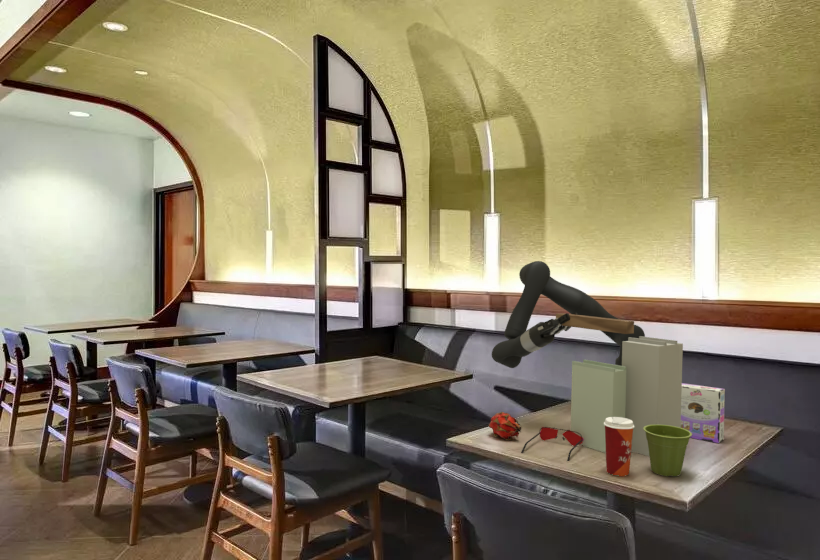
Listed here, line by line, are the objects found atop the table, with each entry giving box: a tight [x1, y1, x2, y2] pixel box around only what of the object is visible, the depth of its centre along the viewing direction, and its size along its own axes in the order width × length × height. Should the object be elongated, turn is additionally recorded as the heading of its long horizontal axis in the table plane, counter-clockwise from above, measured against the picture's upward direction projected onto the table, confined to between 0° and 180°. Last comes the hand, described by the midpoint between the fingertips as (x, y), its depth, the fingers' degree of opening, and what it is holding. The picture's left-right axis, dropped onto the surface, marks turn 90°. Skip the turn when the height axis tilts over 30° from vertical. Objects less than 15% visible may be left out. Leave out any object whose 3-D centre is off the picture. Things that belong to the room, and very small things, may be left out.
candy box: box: [681, 382, 726, 444], centre depth 189 cm, size 14×6×16 cm, turn 47°
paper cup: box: [604, 417, 635, 477], centre depth 156 cm, size 8×8×14 cm
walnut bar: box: [555, 312, 635, 334], centre depth 179 cm, size 4×26×4 cm, turn 35°
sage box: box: [570, 359, 626, 454], centre depth 178 cm, size 6×15×25 cm, turn 35°
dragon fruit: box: [488, 411, 522, 441], centre depth 186 cm, size 8×8×12 cm
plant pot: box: [643, 424, 692, 477], centre depth 156 cm, size 12×12×11 cm
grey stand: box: [622, 336, 684, 458], centre depth 175 cm, size 12×12×33 cm
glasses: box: [520, 426, 584, 462], centre depth 174 cm, size 14×16×5 cm
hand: (573, 315), depth 185 cm, fingers closed on walnut bar, 3 cm apart
